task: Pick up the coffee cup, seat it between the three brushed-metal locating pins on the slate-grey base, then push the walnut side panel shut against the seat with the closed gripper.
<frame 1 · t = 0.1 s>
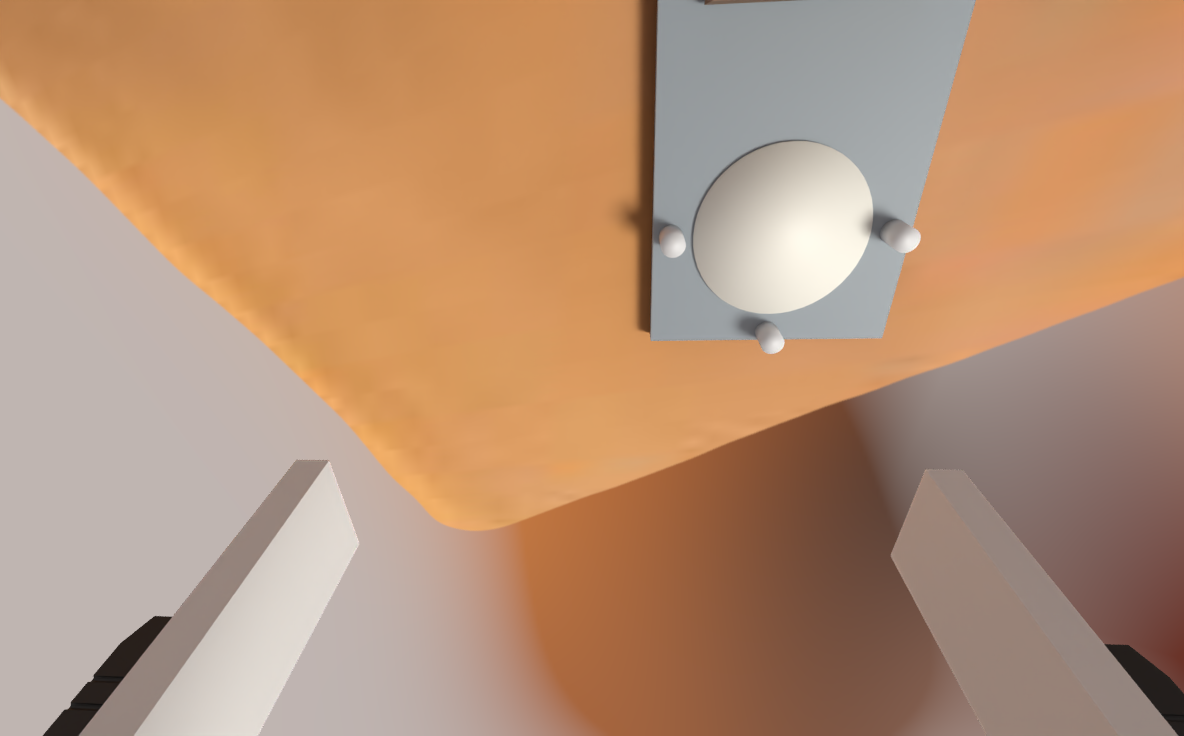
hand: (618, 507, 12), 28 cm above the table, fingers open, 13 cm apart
grey flat slab: (784, 167, 34), on the table
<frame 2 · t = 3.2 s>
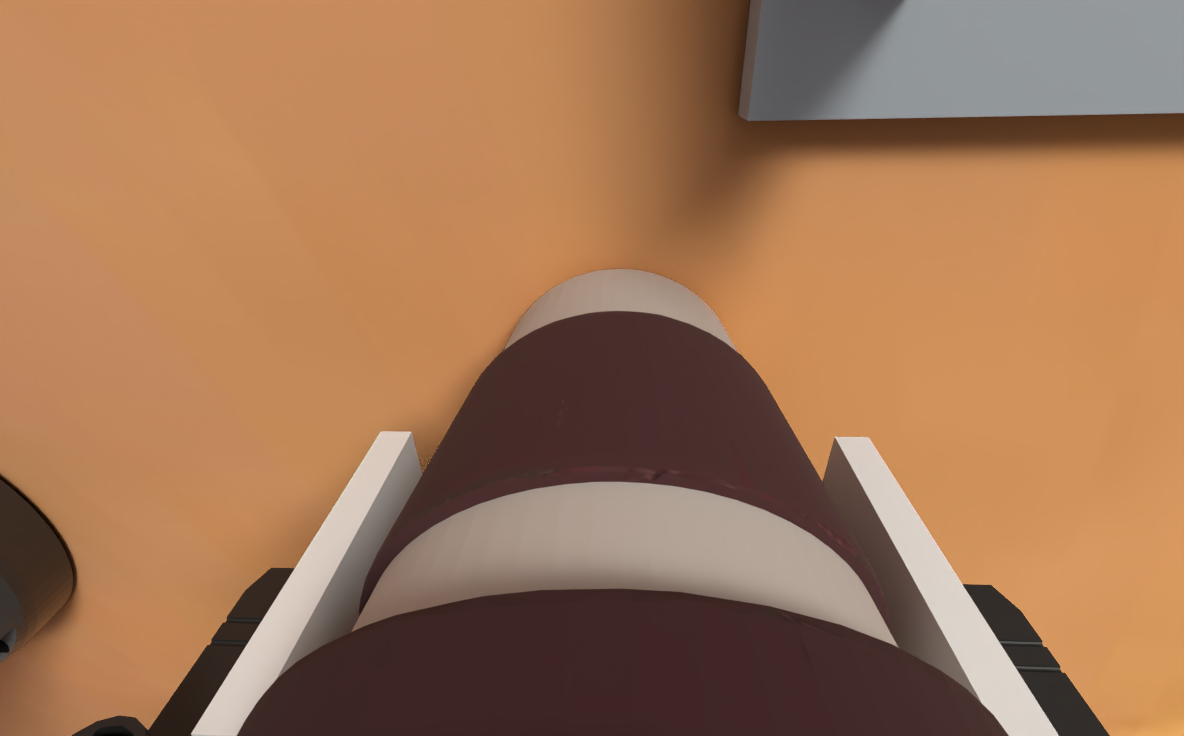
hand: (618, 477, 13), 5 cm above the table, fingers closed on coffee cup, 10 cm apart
coffee cup: (618, 364, 18), on the table, touching gripper
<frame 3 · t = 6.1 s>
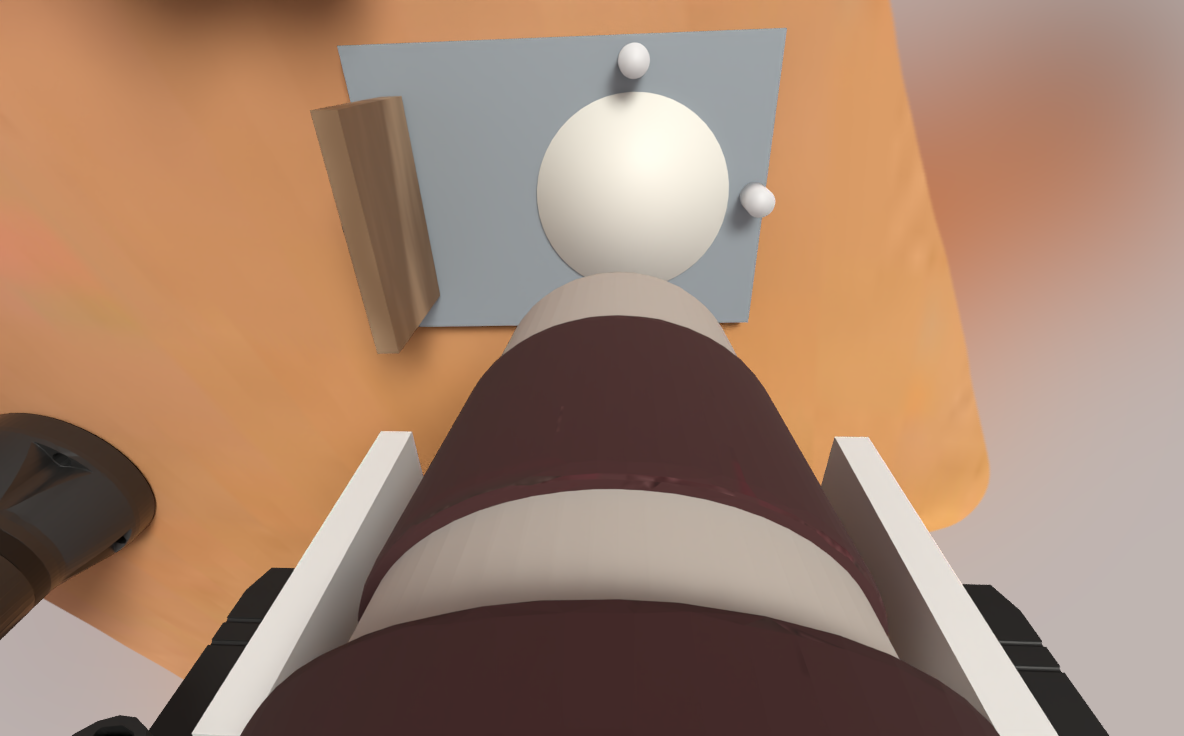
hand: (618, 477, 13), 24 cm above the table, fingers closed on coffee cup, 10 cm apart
grey flat slab: (568, 195, 33), on the table
panel: (375, 223, 29), point 5 cm above the table, slide at 0.0 cm
coffee cup: (618, 367, 18), point 19 cm above the table, touching gripper
when the fingers open (8 cm above the table, at t = 9.4 s): coffee cup drops 1 cm, resting on grey flat slab.
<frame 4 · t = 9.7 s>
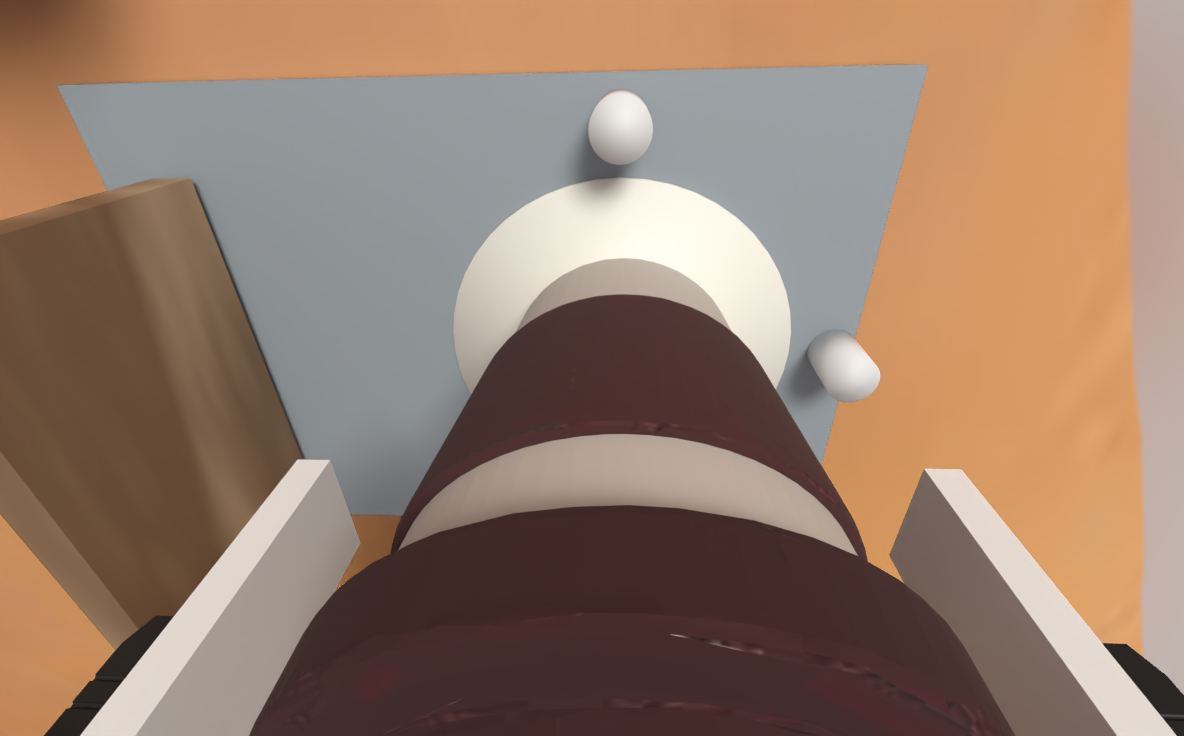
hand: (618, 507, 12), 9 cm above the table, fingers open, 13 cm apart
grey flat slab: (512, 333, 20), on the table
panel: (135, 418, 16), point 6 cm above the table, slide at 0.0 cm
coffee cup: (622, 350, 19), point 1 cm above the table, touching grey flat slab
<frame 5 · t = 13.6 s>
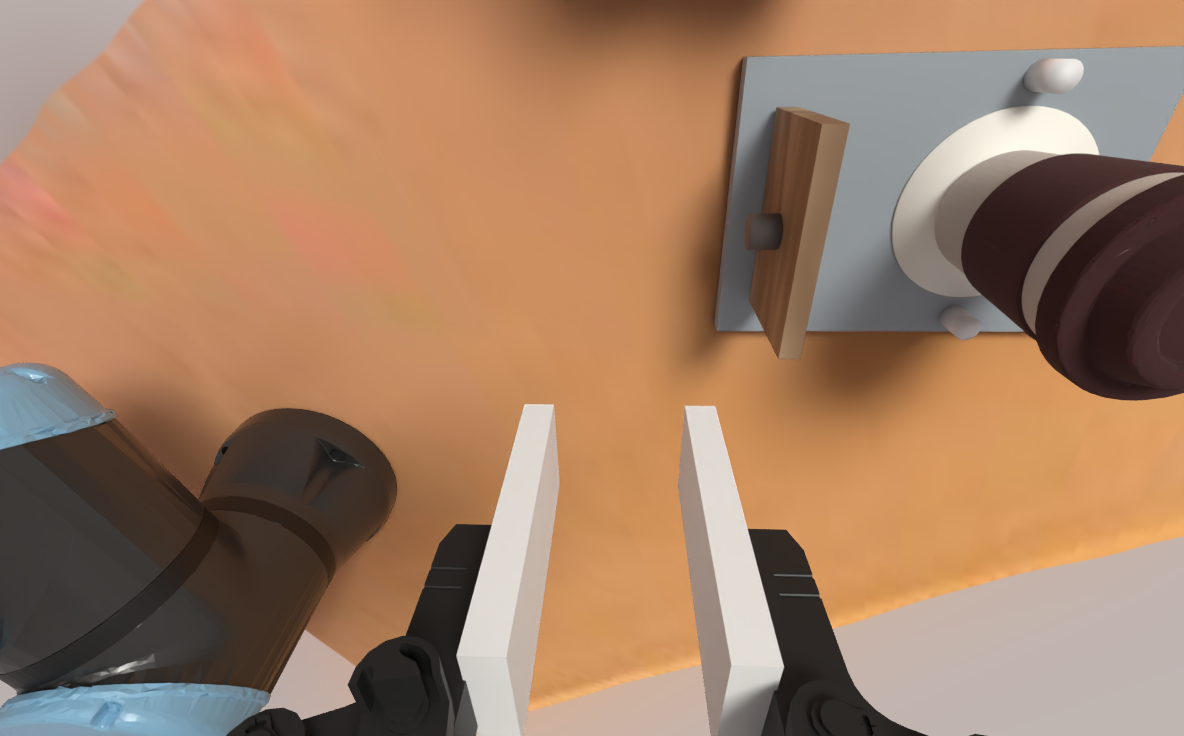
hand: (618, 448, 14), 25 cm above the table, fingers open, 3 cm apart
grey flat slab: (915, 205, 34), on the table
panel: (773, 231, 30), point 5 cm above the table, slide at 0.0 cm
coffee cup: (992, 210, 33), point 1 cm above the table, touching grey flat slab
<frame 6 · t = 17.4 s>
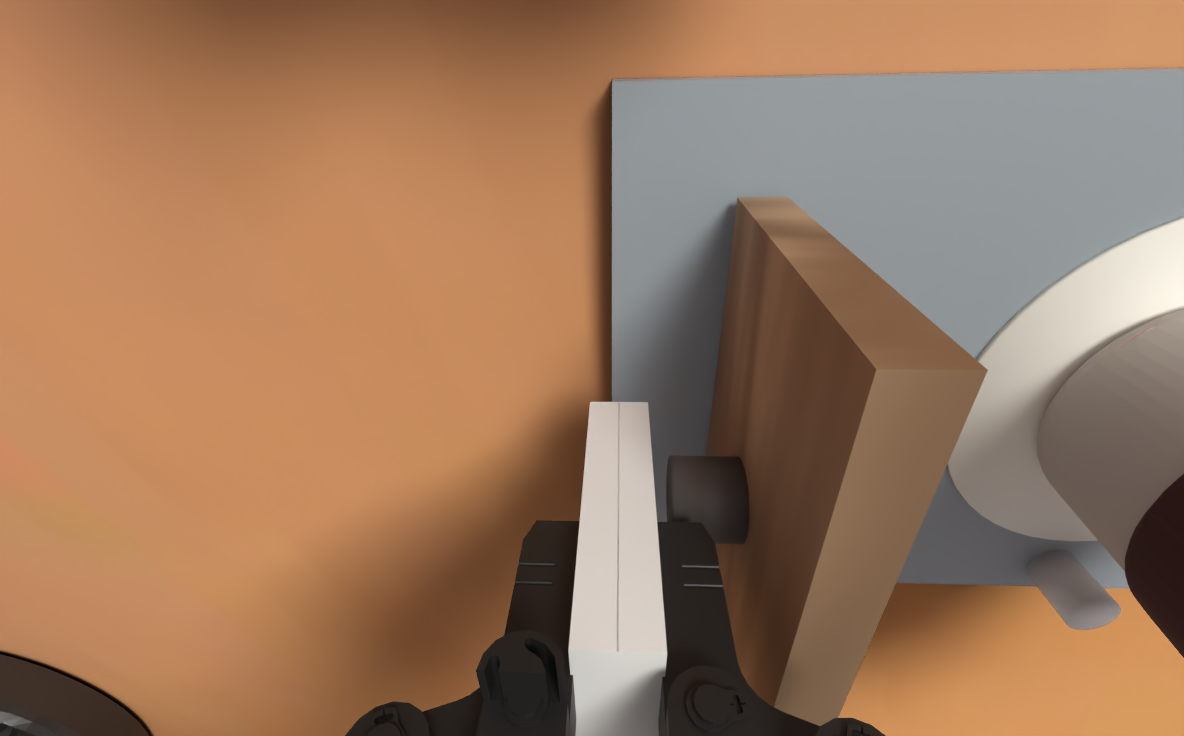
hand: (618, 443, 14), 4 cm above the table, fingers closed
grey flat slab: (991, 377, 17), on the table
panel: (730, 499, 12), point 5 cm above the table, slide at 1.1 cm, touching gripper
coffee cup: (1160, 402, 15), point 1 cm above the table, touching grey flat slab
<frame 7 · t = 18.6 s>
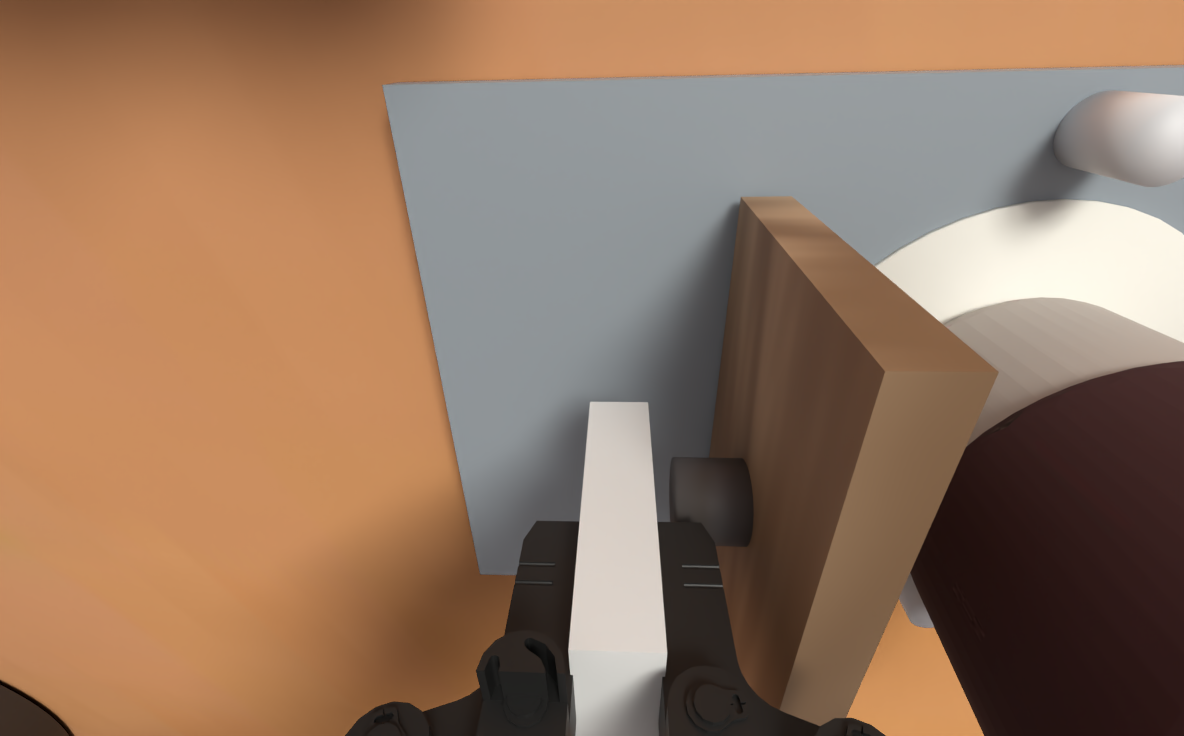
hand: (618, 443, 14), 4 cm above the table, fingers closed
grey flat slab: (825, 377, 17), on the table
panel: (733, 501, 12), point 5 cm above the table, slide at 6.4 cm, touching gripper
coffee cup: (980, 401, 16), point 1 cm above the table, touching grey flat slab
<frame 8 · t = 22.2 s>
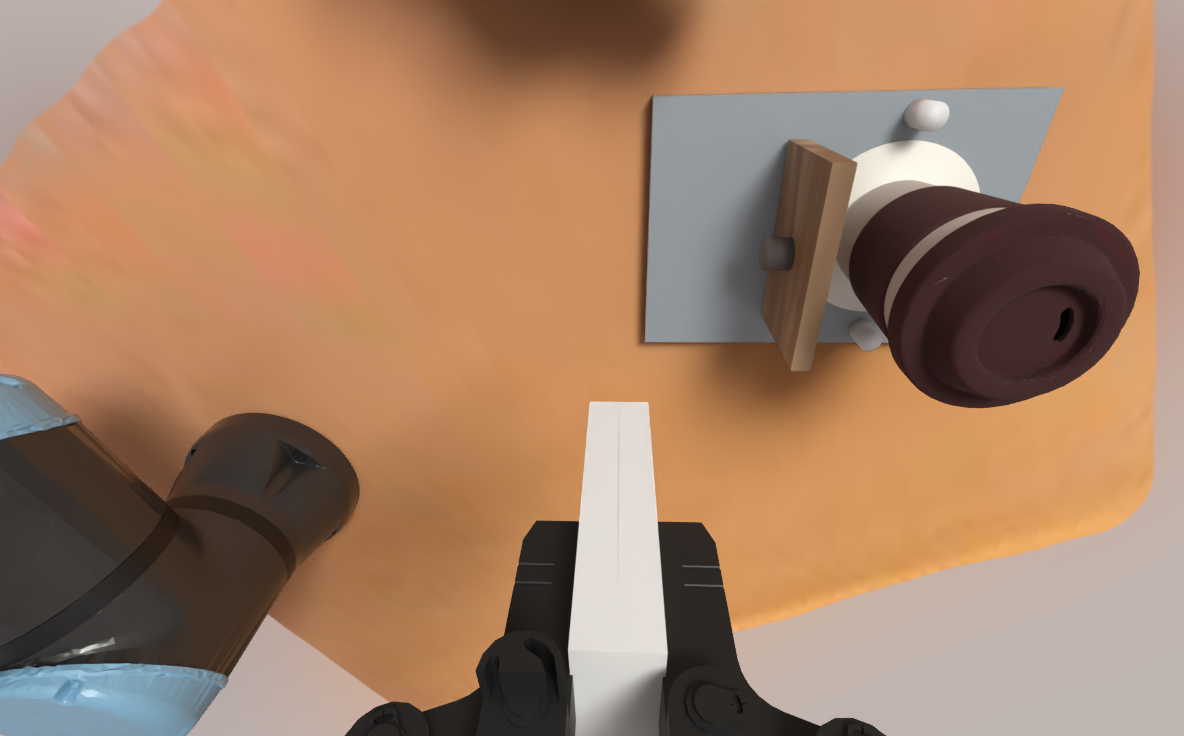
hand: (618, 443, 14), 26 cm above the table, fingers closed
grey flat slab: (819, 227, 37), on the table
panel: (786, 254, 32), point 6 cm above the table, slide at 6.5 cm
coffee cup: (887, 233, 36), point 1 cm above the table, touching grey flat slab
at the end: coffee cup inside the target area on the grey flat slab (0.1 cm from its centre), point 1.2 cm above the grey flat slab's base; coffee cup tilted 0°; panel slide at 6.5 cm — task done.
